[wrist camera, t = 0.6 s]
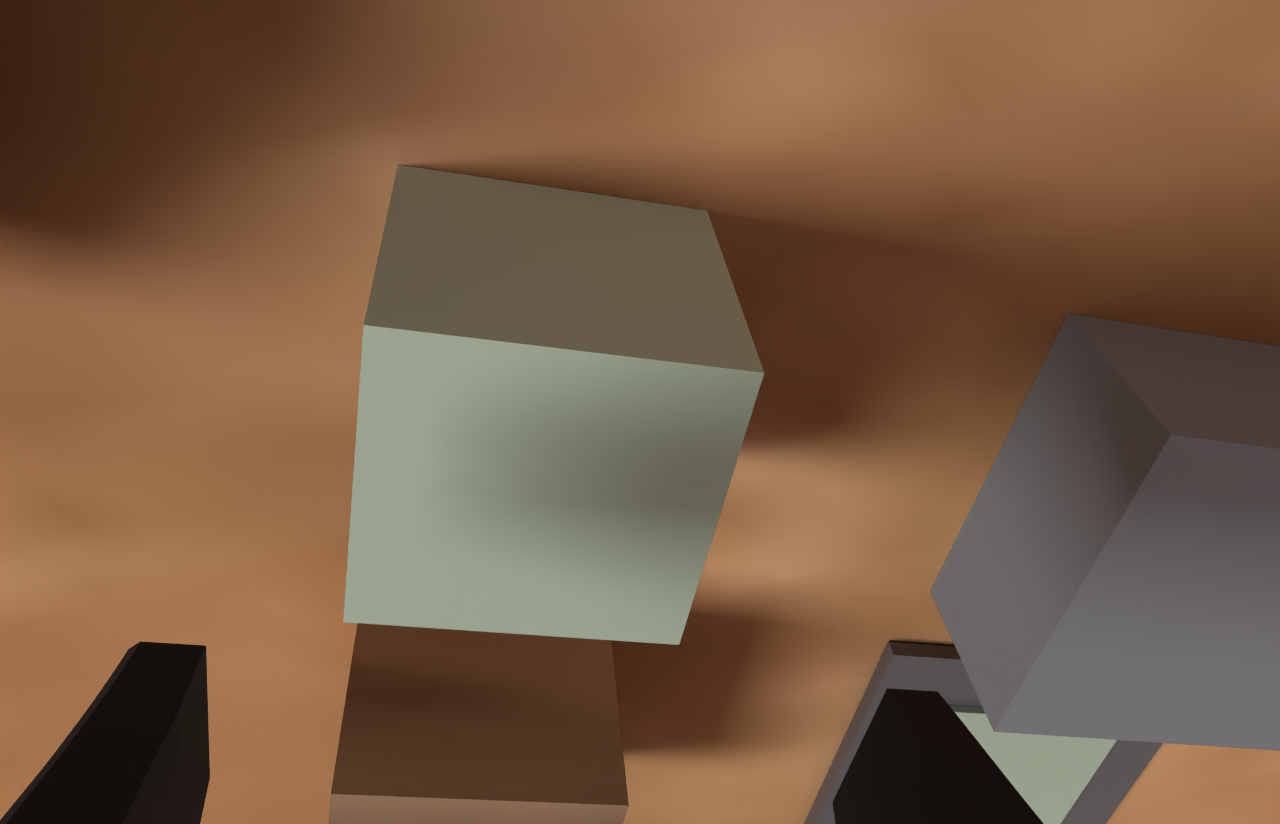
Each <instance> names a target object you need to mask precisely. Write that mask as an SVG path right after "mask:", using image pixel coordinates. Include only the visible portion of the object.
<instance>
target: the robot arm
mask: <svg viewBox="0 0 1280 824" xmlns="http://www.w3.org/2000/svg"><path fill="white" fill-rule="evenodd" d="M209 778H210V768H209V734H208V699H207V665H206V646H202V645H186V644H170V643H154V642H139V643H138V644H136V645H134V646H133V647H131V648H130V649H128V651H127V652H126V654H125V656H124V657H123V659H122V660H121V662H120V663H119V665H118V666H117V668H116V669H115V671H114V672H113V674H112V675H111V677H110V678H109V680H108V681H107V683H106V684H105V685H104V687H103V688H102V690H101V691H100V693H99V694H98V695H97V697H96V698H95V700H94V701H93V702H92V704H91V705H90V707H89V708H88V709H87V711H86V712H85V714H84V715H83V716H82V718H81V719H80V720H79V722H78V723H77V724H76V726H75V727H74V728H73V730H72V731H71V732H70V734H69V735H68V736H67V738H66V739H65V740H64V741H63V743H62V744H61V745H60V747H59V748H58V749H57V751H56V752H55V753H54V755H53V756H52V757H51V758H50V760H49V761H48V762H47V764H46V765H45V766H44V767H43V769H42V770H41V771H40V772H39V774H38V775H37V776H36V777H35V779H34V780H33V781H32V782H31V783H30V785H29V786H28V787H27V788H26V790H25V791H24V792H23V793H22V794H21V796H20V797H19V798H18V799H17V801H16V802H15V803H14V804H13V805H12V807H11V808H10V809H9V810H8V812H7V813H6V814H5V815H4V816H3V818H2V819H1V820H0V824H200V821H201V817H202V812H203V807H204V802H205V798H206V793H207V788H208V783H209ZM832 803H833V810H834V817H835V824H1044V823H1043V822H1042V821H1041V820H1040V818H1039V817H1038V816H1037V815H1036V814H1035V812H1034V811H1033V810H1032V809H1031V807H1030V806H1029V805H1028V804H1027V802H1026V801H1025V800H1024V799H1023V797H1022V796H1021V795H1020V794H1019V792H1018V791H1017V790H1016V789H1015V787H1014V786H1013V785H1012V784H1011V782H1010V781H1009V780H1008V779H1007V777H1006V776H1005V775H1004V774H1003V772H1002V771H1001V770H1000V769H999V767H998V766H997V765H996V764H995V762H994V761H993V760H992V759H991V757H990V756H989V755H988V754H987V752H986V751H985V750H984V748H983V747H982V746H981V745H980V743H979V742H978V741H977V740H976V738H975V737H974V736H973V735H972V733H971V732H970V731H969V730H968V728H967V727H966V726H965V724H964V723H963V722H962V721H961V719H960V718H959V717H958V716H957V714H956V713H955V712H954V711H953V709H952V708H951V707H950V706H949V705H948V703H947V702H946V701H945V700H944V699H943V697H942V696H941V695H940V694H939V692H938V691H923V690H907V689H890V688H887V689H886V691H885V694H884V696H883V698H882V700H881V702H880V704H879V706H878V708H877V710H876V712H875V714H874V716H873V719H872V721H871V723H870V725H869V727H868V729H867V731H866V733H865V735H864V737H863V739H862V741H861V743H860V746H859V748H858V750H857V752H856V754H855V756H854V758H853V760H852V762H851V764H850V766H849V768H848V771H847V773H846V775H845V777H844V779H843V781H842V783H841V785H840V787H839V789H838V791H837V793H836V796H835V798H834V800H833V802H832Z"/></svg>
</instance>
